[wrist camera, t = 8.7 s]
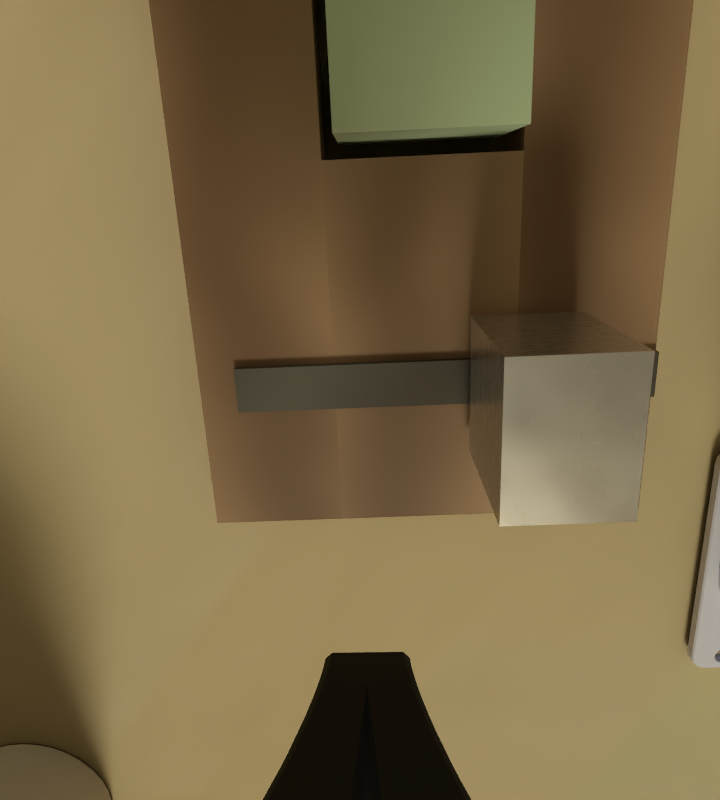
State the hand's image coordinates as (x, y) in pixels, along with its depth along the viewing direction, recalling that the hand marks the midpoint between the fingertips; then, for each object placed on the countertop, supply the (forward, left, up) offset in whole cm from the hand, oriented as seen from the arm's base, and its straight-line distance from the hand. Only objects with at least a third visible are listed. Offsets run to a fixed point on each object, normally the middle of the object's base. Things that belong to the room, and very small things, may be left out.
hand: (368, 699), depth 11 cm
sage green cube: (-2, -11, -9) cm, 14 cm away
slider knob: (-4, -3, -7) cm, 9 cm away
